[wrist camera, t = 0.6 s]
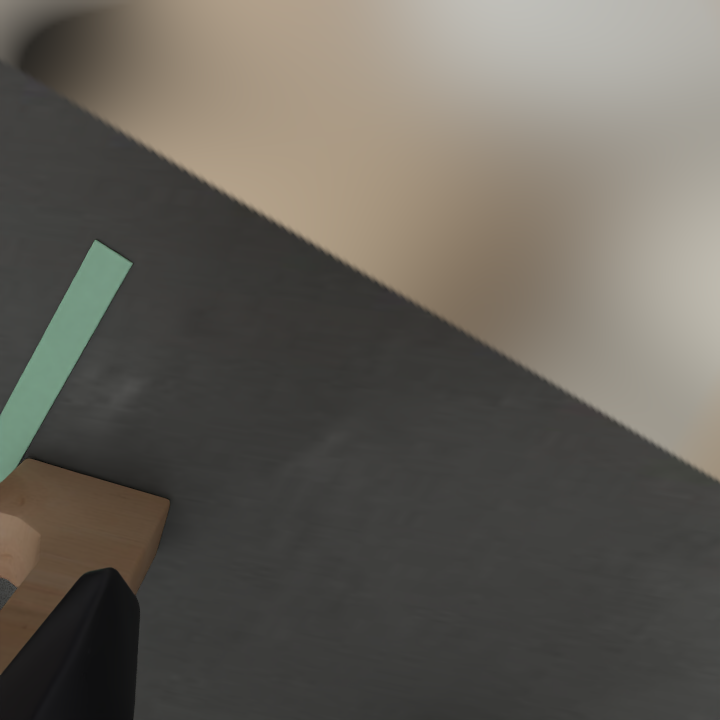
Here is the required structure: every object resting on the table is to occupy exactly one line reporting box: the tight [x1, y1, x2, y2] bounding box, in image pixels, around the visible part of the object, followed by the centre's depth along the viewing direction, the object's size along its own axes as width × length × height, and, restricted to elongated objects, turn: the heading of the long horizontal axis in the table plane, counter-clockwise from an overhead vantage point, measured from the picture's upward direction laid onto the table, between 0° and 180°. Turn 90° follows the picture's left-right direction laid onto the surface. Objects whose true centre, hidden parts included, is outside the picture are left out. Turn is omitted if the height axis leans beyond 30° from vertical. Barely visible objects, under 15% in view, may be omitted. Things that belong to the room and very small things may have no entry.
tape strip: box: [0, 240, 133, 483], centre depth 26 cm, size 22×2×1 cm, turn 145°
